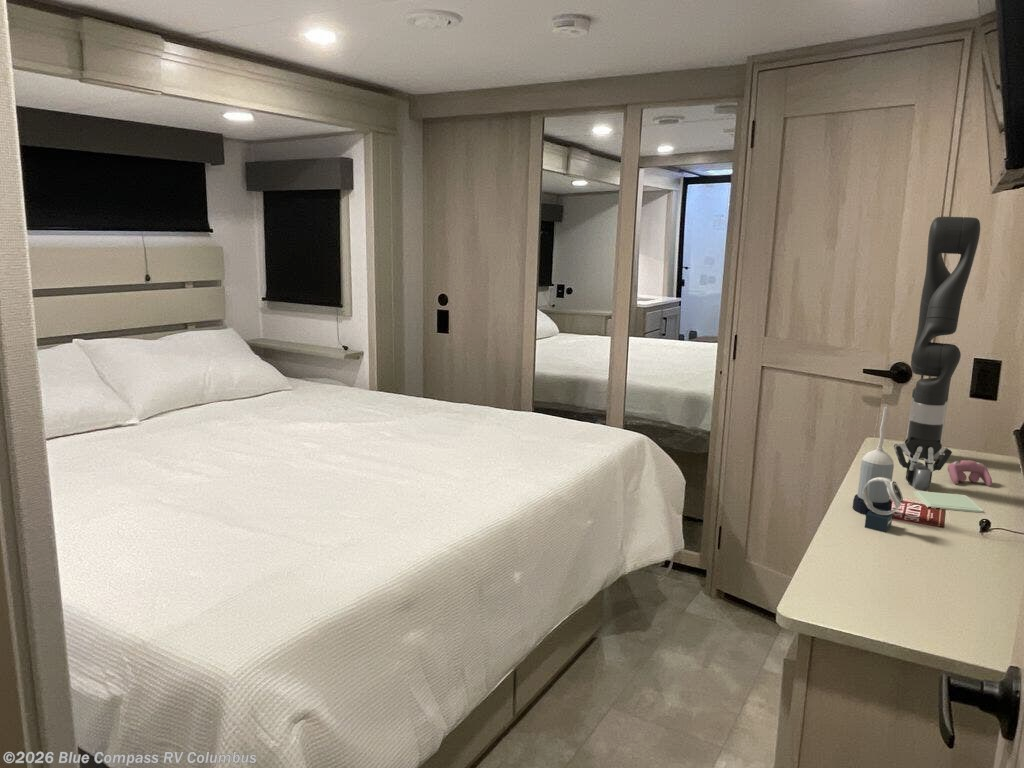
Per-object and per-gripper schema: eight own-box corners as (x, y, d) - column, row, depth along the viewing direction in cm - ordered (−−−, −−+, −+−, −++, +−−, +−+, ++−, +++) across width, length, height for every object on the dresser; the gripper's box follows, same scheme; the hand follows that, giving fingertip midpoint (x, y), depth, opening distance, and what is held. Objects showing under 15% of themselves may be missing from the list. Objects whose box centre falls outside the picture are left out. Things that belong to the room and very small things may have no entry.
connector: (903, 476, 200) (905, 458, 199) (915, 477, 199) (918, 459, 198) (916, 489, 189) (919, 471, 188) (930, 491, 188) (932, 472, 187)
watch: (895, 534, 159) (902, 486, 157) (856, 525, 164) (862, 478, 162) (901, 527, 164) (907, 480, 161) (862, 518, 168) (868, 472, 166)
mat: (913, 492, 187) (913, 490, 187) (965, 497, 184) (965, 494, 184) (927, 507, 176) (928, 505, 176) (983, 512, 174) (983, 510, 174)
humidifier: (875, 519, 168) (889, 412, 163) (844, 507, 175) (857, 404, 170) (898, 514, 171) (913, 409, 167) (867, 502, 179) (880, 402, 174)
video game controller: (985, 488, 196) (982, 462, 198) (994, 486, 192) (991, 459, 194) (946, 486, 197) (944, 460, 199) (954, 483, 193) (952, 457, 195)
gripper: (951, 418, 192) (941, 481, 195) (892, 414, 194) (884, 476, 198) (962, 425, 184) (952, 491, 188) (901, 421, 187) (892, 485, 191)
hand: (917, 483), depth 193 cm, fingers closed on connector, 3 cm apart
